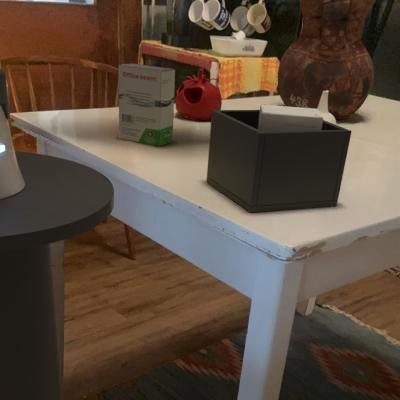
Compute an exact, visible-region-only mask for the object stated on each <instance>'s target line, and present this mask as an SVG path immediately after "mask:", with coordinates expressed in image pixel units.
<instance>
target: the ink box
mask: <svg viewBox="0 0 400 400" xmlns="http://www.w3.org/2000/svg"><path fill="white" fill-rule="evenodd" d="M175 80H176V69H175V68H171V67H170V68H169V67H163V66H155V65H149V64H141V63H121V64H120V65H118V138H119V139H121V140H125V141H130V142H137V143H142V144H146V145H153V146H158V147H159V146H164V145H167V144H170V143H172V142H173V139H174V111H175V83H176V81H175Z"/></svg>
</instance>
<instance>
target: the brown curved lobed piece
mask: <svg viewBox="0 0 400 400" xmlns="http://www.w3.org/2000/svg"><path fill="white" fill-rule="evenodd" d="M298 1H299V6H300V9H301V16H302V23H301V24H302V28H301V31H300V34H299V36H298V37H297V38H296V39H295V40H294V41H293V43H291V44H290V46H289V47H288V48H287V49H286V50H285V52H284V53H283V55H282V57H281V59H280V61H279V64H278V70H277V87H278V91H279V92H278V93H279V97H280V99H281V101H282V102H283V105H284V106H287V107H300V108H313V109H317V108H318V105H319V102H320V99H321V96H322V93H323V91H326V90H327V91H329V92H328V112H329V113H331V114H332V115H333V116H334V117H335V120H339V119H342V120H343V119H346V118H349V117H350V116H352V115H353V114H355V113H356V112H357V111H358V110H359V109H360V108H361V107H362V106H363V104H364V103H365V101H366V100H367V99H368V96H369V95H370V92H371V91H372V88H373V85H374V81H375V80H374V79H375V69H374V63H373V60H372V58H371V55H370V53H369V51H368V49H367V47H366V45H365V44H364V43H365V42H363V39H362V32H363V28H364V24H365V21H366V19H367V17H368V14H369V13H370V11H371V10H372V8H373V6H374V5H375V3H376V2H377V0H298Z"/></svg>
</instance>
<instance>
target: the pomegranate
mask: <svg viewBox="0 0 400 400" xmlns="http://www.w3.org/2000/svg"><path fill="white" fill-rule="evenodd" d="M204 72H205V69H204V68H199V69H198V77H197V76H196V75H195V74H192V75H191V76H189V75H187V76H181V78H180V79H183V78H188V79H186V80H183V81H182V82H181V84H180V85H179V87H178V89H177V91H176V97H175V98H174V105H175V110H176V112H177V114H178V115H180V116H181V117H184V118H186V119H189V120H194V121H209V120H210V121H211V118H212V110H222V105H223V100H222V94H221V91H220V89H219V87H217V86H216V85H215V84H213V83H212V82H210V81H212V80H214V81H218V78H214V77H213V78H207V77H206V74H204Z"/></svg>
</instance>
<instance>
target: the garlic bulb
mask: <svg viewBox="0 0 400 400" xmlns="http://www.w3.org/2000/svg"><path fill="white" fill-rule="evenodd" d="M328 92H329V91H327V90H326V91H323V93H322V96H321V99H320V102H319V105H318V108H317V109H318V110H319V112H320V113H321V115H322V116H323V120H324V121H327V122H330V123H332V124H335V125H337V119H335V117H334V116H333V115H332V114H331V113H329V112H328Z"/></svg>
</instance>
